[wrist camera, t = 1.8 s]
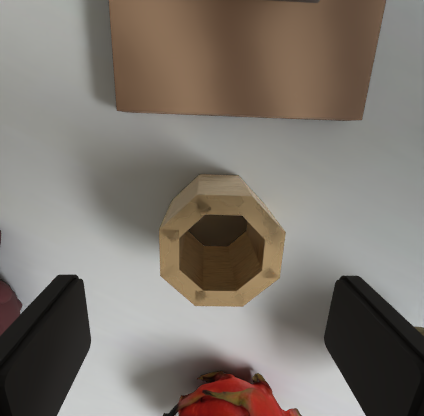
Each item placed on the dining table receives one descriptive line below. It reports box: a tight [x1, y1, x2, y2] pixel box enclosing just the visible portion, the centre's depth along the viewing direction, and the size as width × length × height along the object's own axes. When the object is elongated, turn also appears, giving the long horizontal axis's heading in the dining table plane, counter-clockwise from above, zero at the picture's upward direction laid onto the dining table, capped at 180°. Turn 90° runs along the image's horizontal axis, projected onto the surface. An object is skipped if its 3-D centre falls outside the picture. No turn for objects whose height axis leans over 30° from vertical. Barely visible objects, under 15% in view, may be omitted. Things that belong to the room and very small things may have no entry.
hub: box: [159, 174, 286, 307], centre depth 16 cm, size 6×6×6 cm
